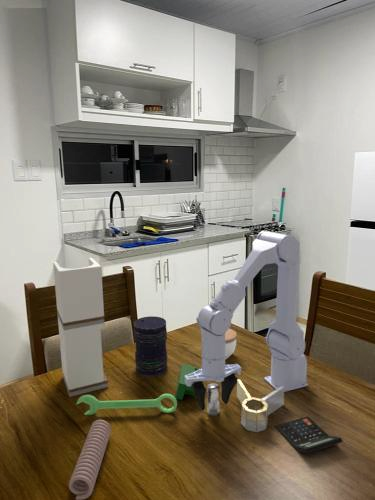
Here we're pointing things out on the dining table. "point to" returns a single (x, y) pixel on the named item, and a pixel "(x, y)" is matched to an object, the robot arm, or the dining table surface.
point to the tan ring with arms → (258, 407)
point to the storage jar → (150, 345)
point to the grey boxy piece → (80, 326)
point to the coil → (90, 460)
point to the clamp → (181, 385)
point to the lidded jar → (230, 342)
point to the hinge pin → (213, 399)
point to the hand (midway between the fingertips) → (213, 404)
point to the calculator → (306, 435)
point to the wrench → (125, 403)
